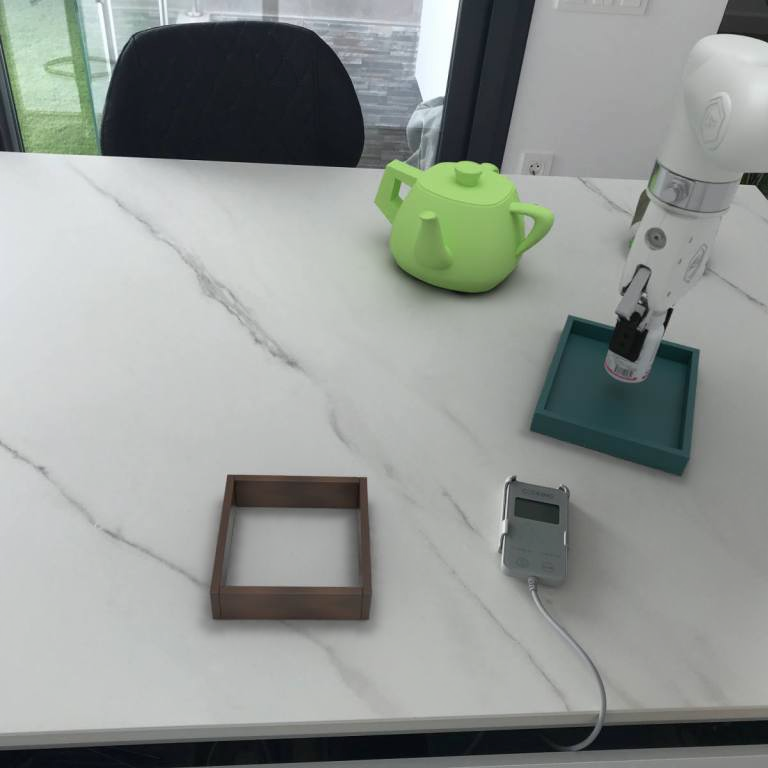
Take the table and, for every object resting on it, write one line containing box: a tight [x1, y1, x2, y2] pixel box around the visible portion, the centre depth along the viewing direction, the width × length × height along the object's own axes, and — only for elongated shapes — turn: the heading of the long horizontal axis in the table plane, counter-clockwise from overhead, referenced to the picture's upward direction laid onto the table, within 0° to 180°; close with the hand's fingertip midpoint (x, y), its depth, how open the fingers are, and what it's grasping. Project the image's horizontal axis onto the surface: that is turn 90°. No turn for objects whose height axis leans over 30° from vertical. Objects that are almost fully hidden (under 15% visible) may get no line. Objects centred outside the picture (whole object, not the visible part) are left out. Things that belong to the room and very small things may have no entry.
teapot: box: [373, 158, 555, 293], centre depth 101 cm, size 19×20×14 cm
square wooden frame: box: [209, 473, 373, 621], centre depth 65 cm, size 12×12×4 cm
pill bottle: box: [605, 295, 667, 383], centre depth 82 cm, size 5×5×8 cm
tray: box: [529, 314, 701, 477], centre depth 86 cm, size 20×16×3 cm
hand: (635, 342), depth 82 cm, fingers closed on pill bottle, 4 cm apart
